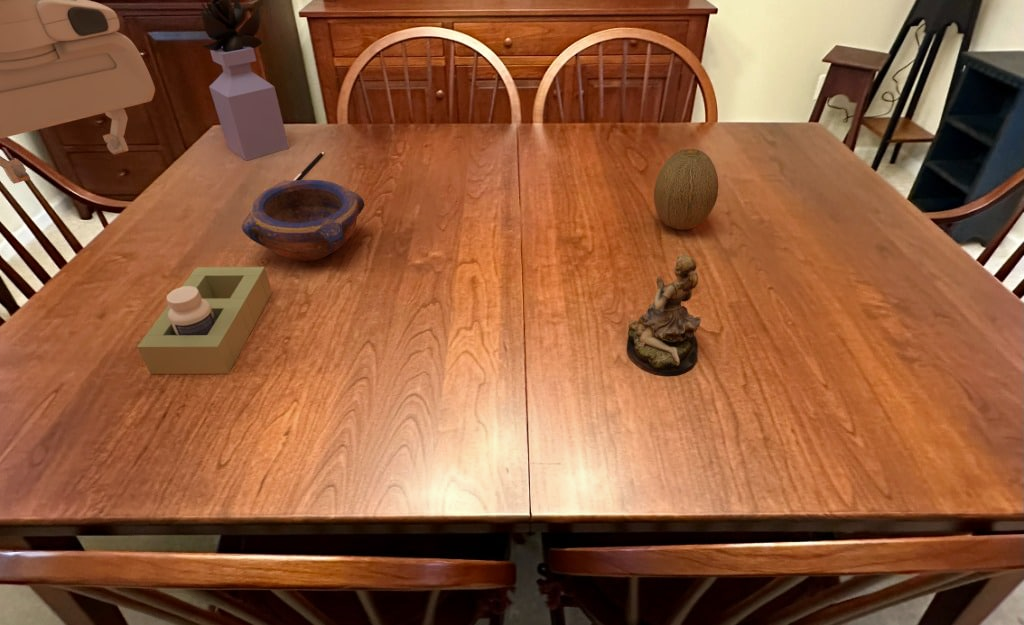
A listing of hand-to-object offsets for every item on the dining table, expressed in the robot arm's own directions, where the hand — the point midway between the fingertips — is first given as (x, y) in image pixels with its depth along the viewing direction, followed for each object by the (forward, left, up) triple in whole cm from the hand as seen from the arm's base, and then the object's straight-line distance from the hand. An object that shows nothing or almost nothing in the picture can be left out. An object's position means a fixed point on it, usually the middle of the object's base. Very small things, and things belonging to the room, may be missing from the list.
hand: (72, 165), depth 63 cm
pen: (+50, +45, -32) cm, 74 cm away
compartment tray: (+9, +6, -31) cm, 33 cm away
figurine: (+50, -46, -31) cm, 75 cm away
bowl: (+32, +15, -31) cm, 47 cm away
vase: (+49, +64, -31) cm, 87 cm away
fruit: (+83, -30, -31) cm, 94 cm away
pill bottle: (+6, +3, -31) cm, 32 cm away
